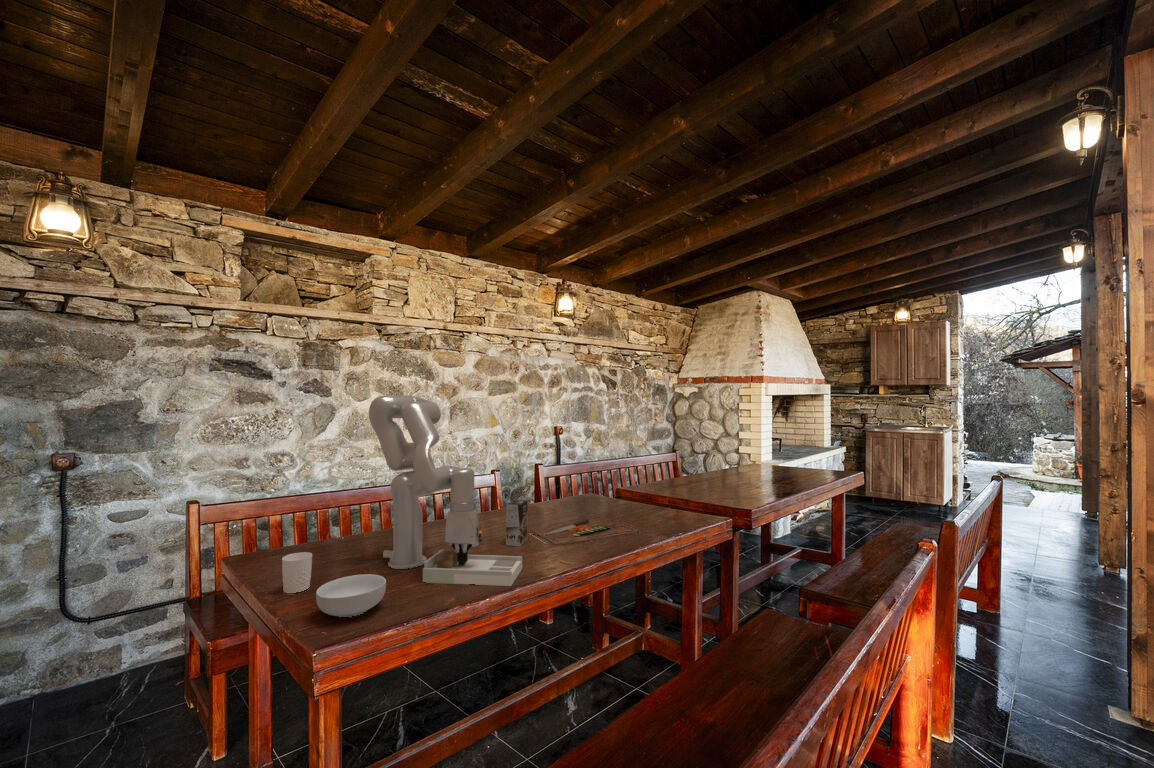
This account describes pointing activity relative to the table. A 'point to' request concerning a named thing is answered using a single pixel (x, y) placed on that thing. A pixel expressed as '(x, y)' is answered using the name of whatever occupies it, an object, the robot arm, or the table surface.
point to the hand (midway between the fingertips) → (462, 563)
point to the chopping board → (578, 532)
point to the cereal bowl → (350, 595)
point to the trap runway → (475, 570)
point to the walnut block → (447, 559)
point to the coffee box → (516, 522)
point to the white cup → (296, 572)
